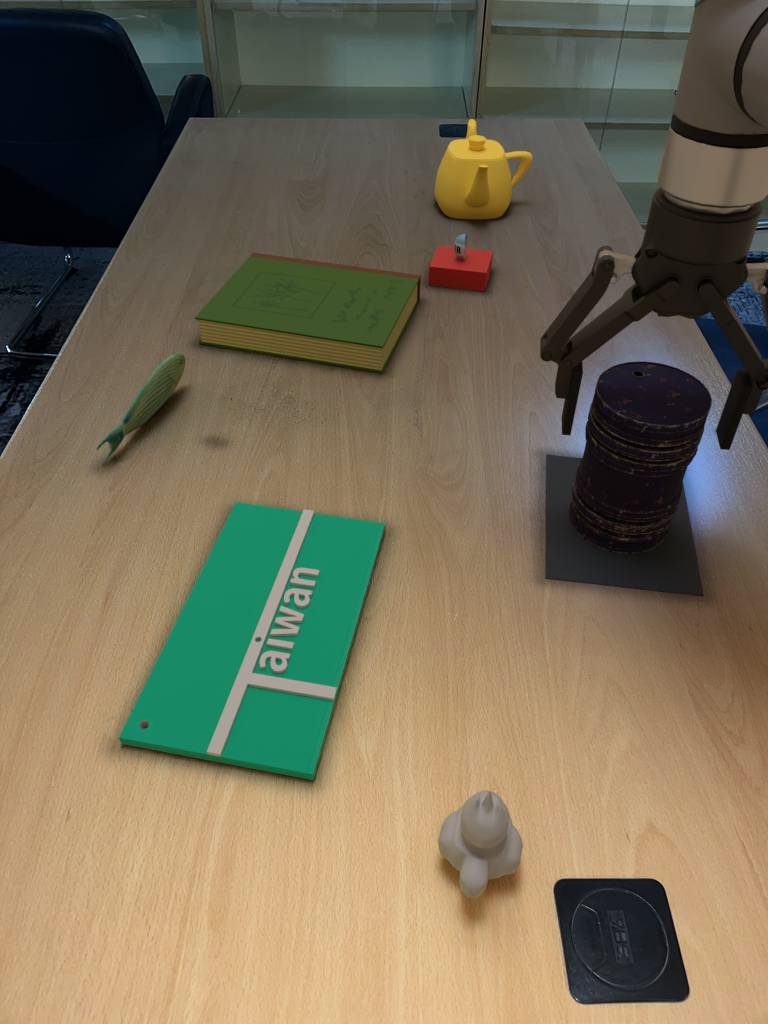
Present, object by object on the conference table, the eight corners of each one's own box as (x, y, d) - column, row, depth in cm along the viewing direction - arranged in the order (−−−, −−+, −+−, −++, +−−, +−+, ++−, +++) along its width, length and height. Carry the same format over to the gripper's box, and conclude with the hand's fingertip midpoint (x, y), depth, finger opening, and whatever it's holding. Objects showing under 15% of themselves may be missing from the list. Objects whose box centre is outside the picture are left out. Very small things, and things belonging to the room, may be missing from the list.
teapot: (536, 233, 127) (546, 162, 119) (437, 233, 127) (441, 162, 119) (517, 180, 143) (525, 115, 136) (430, 179, 143) (433, 114, 135)
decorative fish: (95, 433, 80) (189, 474, 80) (176, 332, 91) (257, 369, 91) (95, 474, 85) (182, 512, 85) (171, 373, 96) (248, 408, 96)
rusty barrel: (688, 545, 76) (736, 418, 66) (592, 562, 75) (626, 434, 64) (640, 479, 83) (677, 354, 73) (552, 493, 82) (576, 367, 72)
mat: (703, 596, 72) (703, 595, 72) (545, 578, 73) (545, 577, 73) (680, 468, 85) (680, 467, 85) (546, 455, 86) (546, 454, 86)
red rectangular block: (428, 284, 114) (430, 242, 110) (437, 263, 119) (439, 221, 115) (484, 291, 113) (488, 248, 109) (491, 269, 118) (495, 227, 113)
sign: (312, 771, 58) (117, 735, 60) (313, 780, 59) (121, 743, 61) (385, 520, 77) (235, 499, 79) (385, 529, 78) (236, 508, 80)
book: (419, 300, 111) (420, 275, 108) (382, 373, 98) (382, 346, 95) (250, 276, 116) (247, 251, 113) (193, 342, 103) (189, 316, 100)
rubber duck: (523, 826, 56) (539, 767, 51) (508, 922, 52) (524, 869, 46) (447, 806, 57) (455, 747, 52) (426, 898, 53) (432, 844, 47)
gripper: (878, 184, 59) (780, 421, 73) (533, 164, 61) (504, 397, 76) (912, 226, 53) (799, 473, 68) (531, 203, 56) (500, 445, 70)
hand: (643, 433), depth 72 cm, fingers open, 13 cm apart
